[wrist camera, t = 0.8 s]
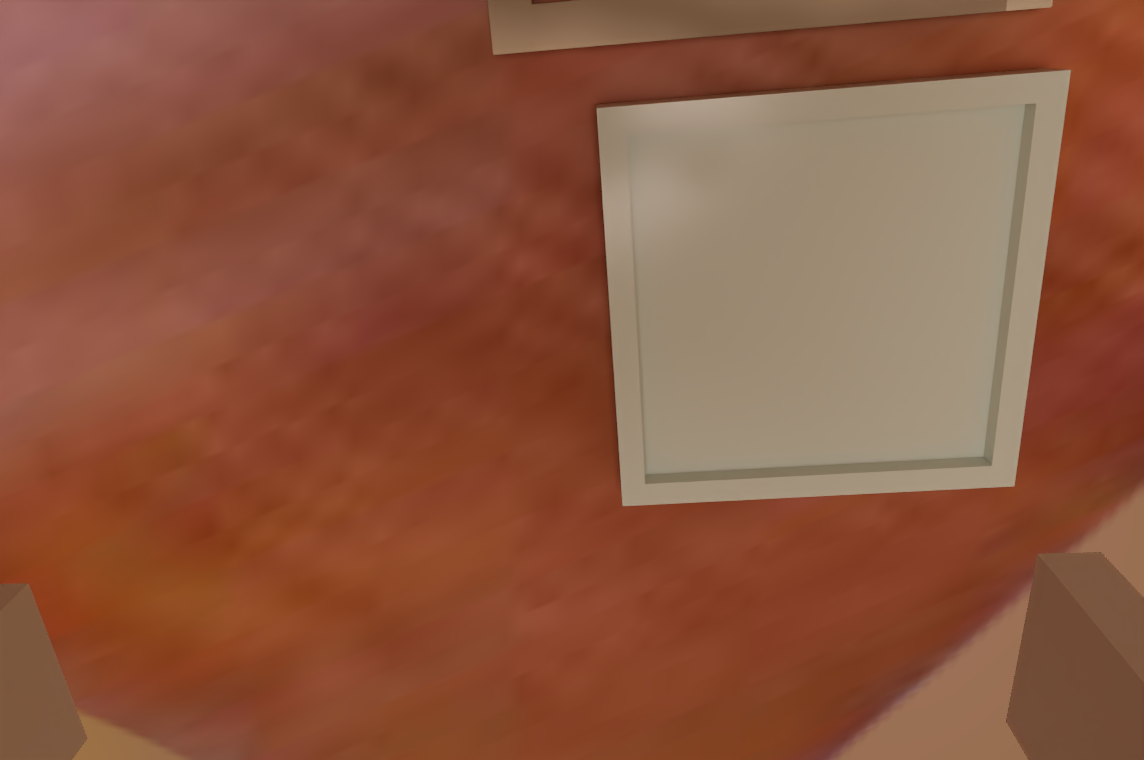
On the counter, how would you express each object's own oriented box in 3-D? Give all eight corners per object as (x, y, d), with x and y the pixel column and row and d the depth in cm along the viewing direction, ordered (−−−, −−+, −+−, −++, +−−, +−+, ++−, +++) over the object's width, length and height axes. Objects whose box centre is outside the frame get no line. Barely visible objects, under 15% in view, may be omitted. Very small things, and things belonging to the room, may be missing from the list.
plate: (596, 104, 31) (596, 108, 29) (1044, 68, 30) (1071, 69, 28) (621, 484, 37) (622, 506, 35) (995, 465, 36) (1014, 486, 34)
